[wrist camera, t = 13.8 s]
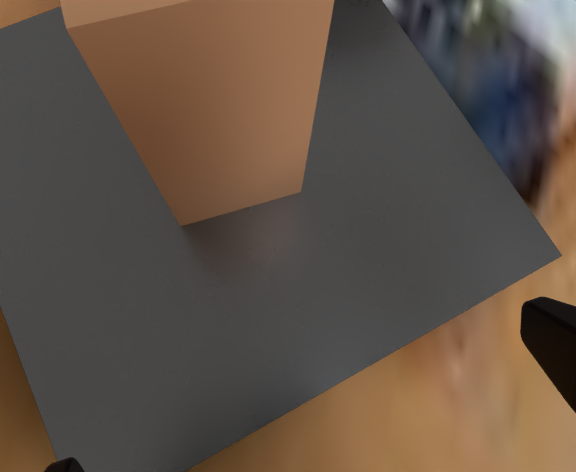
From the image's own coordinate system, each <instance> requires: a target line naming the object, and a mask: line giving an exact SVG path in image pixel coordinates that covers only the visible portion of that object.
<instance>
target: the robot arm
mask: <svg viewBox="0 0 576 472" xmlns="http://www.w3.org/2000/svg"><path fill="white" fill-rule="evenodd" d="M520 333H521V338H522V341H523V343H524V344H525V346H526V347H527V349H528V350H529V351H530V353H531V354H532V355H533V357H534V358H535V360H536V361H537V362H538V364H539V365H540V366H541V368H542V369H543V370H544V372H545V373H546V375H547V376H548V377H549V379H550V380H551V381H552V383H553V384H554V386H555V387H556V388H557V390H558V391H559V392H560V394H561V395H562V396H563V398H564V399H565V400H566V402H567V403H568V404H569V406H570V407H571V408H572V409H573V410H574V412H575V413H576V306H573V305H570V304H567V303H563V302H560V301H557V300H554V299H551V298H547V297H538V298H535V299H532V300H529V301H526V302H525V303H524V304H523V306H522V312H521V329H520ZM44 472H85V471H84V470H83V468H82V467H81V465H80V464H79V462H78V461H77V459H75V458H74V457H69V458H66V459H63V460H60V461H57V462H54V463H52V464H50V465H49V466H48V467H47V468H46V469H45V471H44Z"/></svg>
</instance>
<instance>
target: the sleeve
mask: <svg viewBox="0 0 576 472" xmlns="http://www.w3.org/2000/svg"><path fill="white" fill-rule="evenodd" d="M60 4H61V8H62V13H63V17H64V21H65V26H66V29H67V31H68V33H69V35H70V36H71V38H72V40H73V41H74V43H75V45H76V47H77V48H78V50H79V52H80V54H81V55H82V57H83V59H84V60H85V62H86V64H87V66H88V67H89V69H90V71H91V73H92V74H93V76H94V78H95V80H96V81H97V83H98V85H99V86H100V88H101V90H102V92H103V93H104V95H105V97H106V99H107V100H108V102H109V104H110V106H111V107H112V109H113V111H114V112H115V114H116V116H117V118H118V119H119V121H120V123H121V125H122V126H123V128H124V130H125V132H126V133H127V135H128V137H129V138H130V140H131V142H132V144H133V145H134V147H135V149H136V151H137V152H138V154H139V156H140V158H141V159H142V161H143V163H144V164H145V166H146V168H147V170H148V171H149V173H150V175H151V177H152V178H153V180H154V182H155V184H156V185H157V187H158V189H159V190H160V192H161V194H162V196H163V197H164V199H165V201H166V203H167V204H168V206H169V208H170V210H171V211H172V213H173V215H174V216H175V218H176V220H177V222H178V223H179V225H180V226H184V225H187V224H191V223H194V222H198V221H201V220H205V219H208V218H212V217H215V216H219V215H222V214H226V213H229V212H233V211H236V210H240V209H243V208H247V207H250V206H254V205H257V204H261V203H264V202H268V201H271V200H275V199H278V198H282V197H285V196H289V195H292V194H296V193H299V192H301V189H302V183H303V178H304V172H305V166H306V160H307V155H308V149H309V143H310V137H311V132H312V126H313V120H314V114H315V109H316V103H317V97H318V91H319V86H320V80H321V74H322V69H323V63H324V57H325V51H326V46H327V40H328V34H329V28H330V23H331V17H332V11H333V5H334V0H60Z"/></svg>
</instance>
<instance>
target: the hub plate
mask: <svg viewBox="0 0 576 472" xmlns="http://www.w3.org/2000/svg"><path fill="white" fill-rule="evenodd" d="M561 256H562V255H561V253H560V252H559V250H558V249H557V248H556V246H555V245H554V243H553V242H552V240H551V239H550V238H549V236H548V235H547V233H546V232H545V231H544V229H543V228H542V226H541V225H540V223H539V222H538V221H537V219H536V218H535V216H534V215H533V214H532V212H531V211H530V209H529V208H528V206H527V205H526V204H525V202H524V201H523V199H522V198H521V197H520V195H519V194H518V192H517V191H516V189H515V188H514V187H513V185H512V184H511V182H510V181H509V180H508V178H507V177H506V175H505V174H504V172H503V171H502V170H501V168H500V167H499V165H498V164H497V163H496V161H495V160H494V158H493V157H492V155H491V154H490V153H489V151H488V150H487V148H486V147H485V146H484V144H483V143H482V141H481V140H480V139H479V137H478V136H477V134H476V133H475V131H474V130H473V129H472V127H471V126H470V124H469V123H468V122H467V120H466V119H465V117H464V116H463V114H462V113H461V112H460V110H459V109H458V107H457V106H456V105H455V103H454V102H453V100H452V99H451V97H450V96H449V95H448V93H447V92H446V90H445V89H444V88H443V86H442V85H441V83H440V82H439V80H438V79H437V78H436V76H435V75H434V73H433V72H432V71H431V69H430V68H429V66H428V65H427V63H426V62H425V61H424V59H423V58H422V56H421V55H420V54H419V52H418V51H417V49H416V48H415V46H414V45H413V44H412V42H411V41H410V39H409V38H408V37H407V35H406V34H405V32H404V31H403V29H402V28H401V27H400V25H399V24H398V22H397V21H396V20H395V18H394V17H393V15H392V14H391V12H390V11H389V10H388V8H387V7H386V5H385V4H384V3H383V1H382V0H334V5H333V11H332V17H331V23H330V28H329V34H328V40H327V46H326V51H325V57H324V63H323V69H322V74H321V80H320V86H319V91H318V97H317V103H316V109H315V114H314V120H313V126H312V132H311V137H310V143H309V149H308V155H307V160H306V166H305V172H304V178H303V183H302V189H301V192H299V193H296V194H292V195H289V196H285V197H282V198H278V199H275V200H271V201H268V202H264V203H261V204H257V205H254V206H250V207H247V208H243V209H240V210H236V211H233V212H229V213H226V214H222V215H219V216H215V217H212V218H208V219H205V220H201V221H198V222H194V223H191V224H187V225H184V226H180V225H179V223H178V222H177V220H176V218H175V216H174V215H173V213H172V211H171V210H170V208H169V206H168V204H167V203H166V201H165V199H164V197H163V196H162V194H161V192H160V190H159V189H158V187H157V185H156V184H155V182H154V180H153V178H152V177H151V175H150V173H149V171H148V170H147V168H146V166H145V164H144V163H143V161H142V159H141V158H140V156H139V154H138V152H137V151H136V149H135V147H134V145H133V144H132V142H131V140H130V138H129V137H128V135H127V133H126V132H125V130H124V128H123V126H122V125H121V123H120V121H119V119H118V118H117V116H116V114H115V112H114V111H113V109H112V107H111V106H110V104H109V102H108V100H107V99H106V97H105V95H104V93H103V92H102V90H101V88H100V86H99V85H98V83H97V81H96V80H95V78H94V76H93V74H92V73H91V71H90V69H89V67H88V66H87V64H86V62H85V60H84V59H83V57H82V55H81V54H80V52H79V50H78V48H77V47H76V45H75V43H74V41H73V40H72V38H71V36H70V35H69V33H68V31H67V29H66V26H65V21H64V17H63V13H62V8H61V7H58V8H55V9H53V10H50V11H47V12H45V13H42V14H39V15H37V16H34V17H31V18H28V19H26V20H23V21H20V22H18V23H15V24H12V25H10V26H7V27H4V28H2V29H0V306H1V309H2V312H3V314H4V317H5V320H6V323H7V325H8V328H9V331H10V333H11V336H12V339H13V341H14V344H15V347H16V350H17V352H18V355H19V358H20V360H21V363H22V366H23V369H24V371H25V374H26V377H27V379H28V382H29V385H30V387H31V390H32V393H33V396H34V398H35V401H36V404H37V406H38V409H39V412H40V415H41V417H42V420H43V423H44V425H45V428H46V431H47V433H48V436H49V439H50V442H51V444H52V447H53V450H54V452H55V455H56V458H57V460H58V461H60V460H63V459H66V458H69V457H74V458H75V459H77V461H78V462H79V464H80V465H81V467H82V468H83V470H84V471H85V472H184V471H186V470H188V469H190V468H191V467H193V466H195V465H197V464H198V463H200V462H202V461H204V460H205V459H207V458H209V457H211V456H212V455H214V454H216V453H218V452H219V451H221V450H223V449H225V448H226V447H228V446H230V445H232V444H233V443H235V442H237V441H239V440H240V439H242V438H244V437H246V436H247V435H249V434H251V433H253V432H254V431H256V430H258V429H260V428H261V427H263V426H265V425H267V424H268V423H270V422H272V421H274V420H275V419H277V418H279V417H281V416H282V415H284V414H286V413H288V412H289V411H291V410H293V409H295V408H296V407H298V406H300V405H302V404H303V403H305V402H307V401H309V400H310V399H312V398H314V397H316V396H317V395H319V394H321V393H323V392H324V391H326V390H328V389H330V388H331V387H333V386H335V385H337V384H338V383H340V382H342V381H344V380H345V379H347V378H349V377H351V376H352V375H354V374H356V373H358V372H359V371H361V370H363V369H365V368H366V367H368V366H370V365H372V364H373V363H375V362H377V361H379V360H380V359H382V358H384V357H386V356H387V355H389V354H391V353H393V352H394V351H396V350H398V349H400V348H401V347H403V346H405V345H407V344H408V343H410V342H412V341H414V340H415V339H417V338H419V337H421V336H422V335H424V334H426V333H428V332H429V331H431V330H433V329H435V328H436V327H438V326H440V325H442V324H443V323H445V322H447V321H449V320H450V319H452V318H454V317H456V316H457V315H459V314H461V313H463V312H464V311H466V310H468V309H470V308H471V307H473V306H475V305H477V304H478V303H480V302H482V301H484V300H485V299H487V298H489V297H491V296H492V295H494V294H496V293H498V292H499V291H501V290H503V289H505V288H506V287H508V286H510V285H512V284H513V283H515V282H517V281H519V280H520V279H522V278H524V277H526V276H527V275H529V274H531V273H533V272H534V271H536V270H538V269H540V268H541V267H543V266H545V265H547V264H548V263H550V262H552V261H554V260H555V259H557V258H559V257H561Z"/></svg>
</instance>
